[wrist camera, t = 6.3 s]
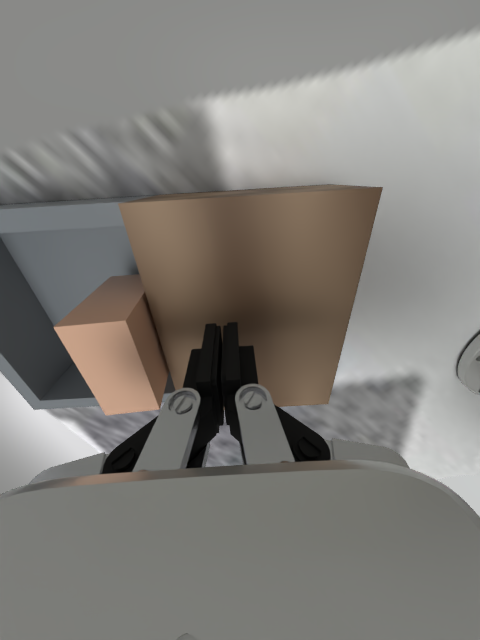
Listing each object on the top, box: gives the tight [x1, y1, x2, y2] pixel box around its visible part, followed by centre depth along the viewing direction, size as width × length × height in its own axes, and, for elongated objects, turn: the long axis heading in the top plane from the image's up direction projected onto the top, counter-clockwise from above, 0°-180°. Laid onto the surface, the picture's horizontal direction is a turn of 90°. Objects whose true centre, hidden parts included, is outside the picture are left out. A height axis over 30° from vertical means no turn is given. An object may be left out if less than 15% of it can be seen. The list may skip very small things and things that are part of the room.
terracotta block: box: [53, 274, 169, 415], centre depth 14 cm, size 6×6×3 cm
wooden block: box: [118, 185, 383, 410], centre depth 15 cm, size 11×14×6 cm
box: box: [0, 195, 176, 410], centre depth 16 cm, size 12×14×5 cm
